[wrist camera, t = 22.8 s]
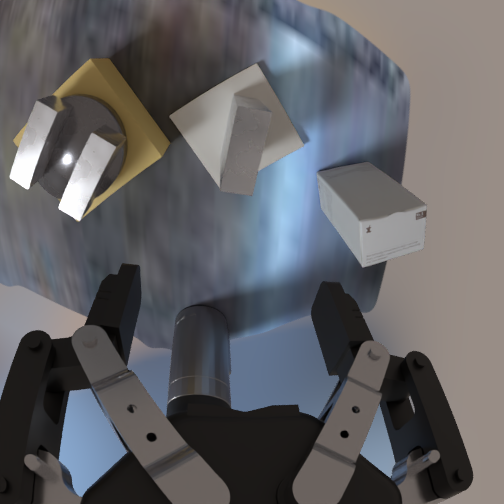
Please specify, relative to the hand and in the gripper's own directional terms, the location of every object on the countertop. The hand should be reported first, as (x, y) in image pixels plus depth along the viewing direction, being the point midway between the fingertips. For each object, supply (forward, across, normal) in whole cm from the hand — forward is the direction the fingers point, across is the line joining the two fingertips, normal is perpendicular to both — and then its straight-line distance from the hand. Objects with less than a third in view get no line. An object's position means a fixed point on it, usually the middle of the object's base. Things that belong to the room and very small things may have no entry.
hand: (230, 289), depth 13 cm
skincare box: (+28, -17, +4) cm, 33 cm away
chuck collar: (+22, +16, +1) cm, 27 cm away
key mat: (+28, -2, -1) cm, 28 cm away
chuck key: (+27, -2, -2) cm, 27 cm away
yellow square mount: (+28, +16, +1) cm, 33 cm away
